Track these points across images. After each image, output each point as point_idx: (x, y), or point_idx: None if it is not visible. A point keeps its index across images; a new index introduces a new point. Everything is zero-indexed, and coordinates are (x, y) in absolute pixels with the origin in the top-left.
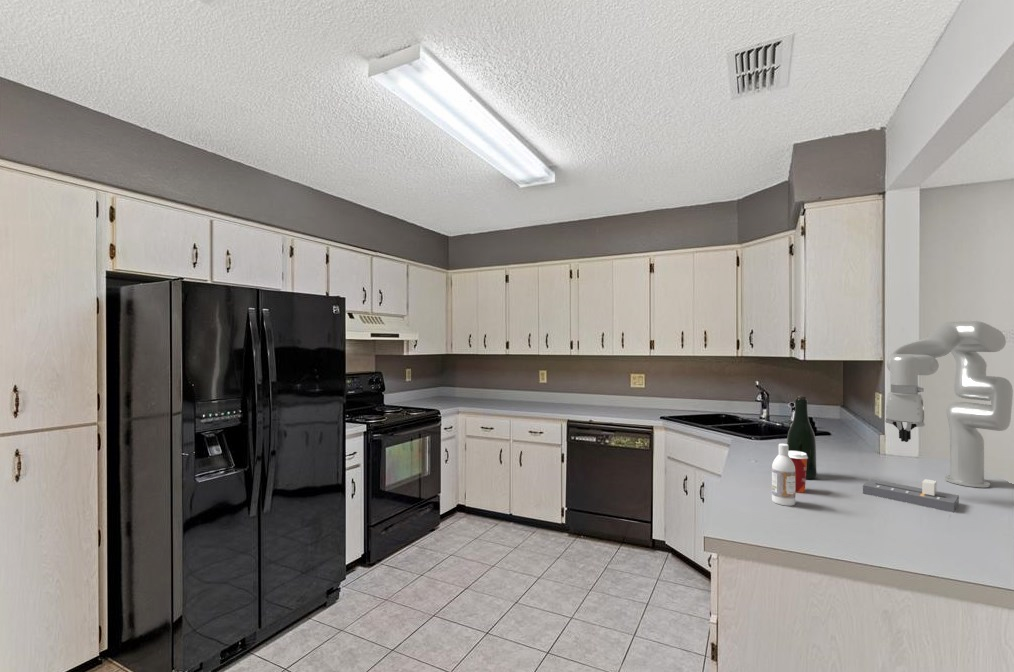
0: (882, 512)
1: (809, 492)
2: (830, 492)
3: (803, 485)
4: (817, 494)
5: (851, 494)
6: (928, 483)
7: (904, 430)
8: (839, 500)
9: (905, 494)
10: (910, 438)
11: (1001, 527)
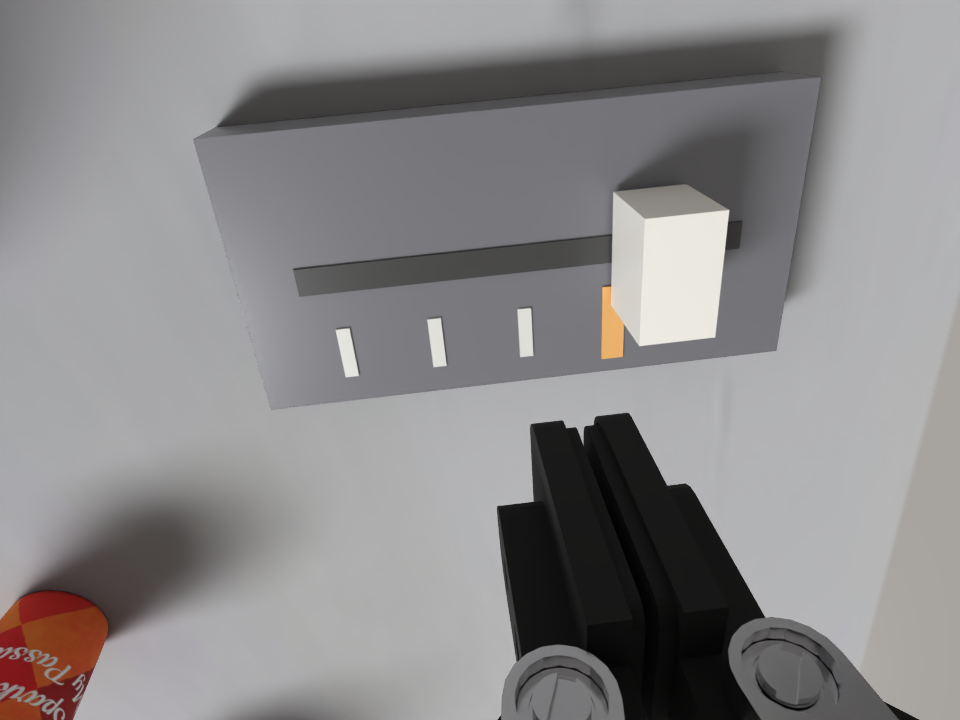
0: (487, 599)
1: (120, 598)
2: (171, 512)
3: (93, 666)
4: (165, 596)
5: (257, 453)
6: (677, 338)
7: (639, 686)
8: (286, 596)
9: (525, 375)
10: (686, 502)
11: (920, 390)
